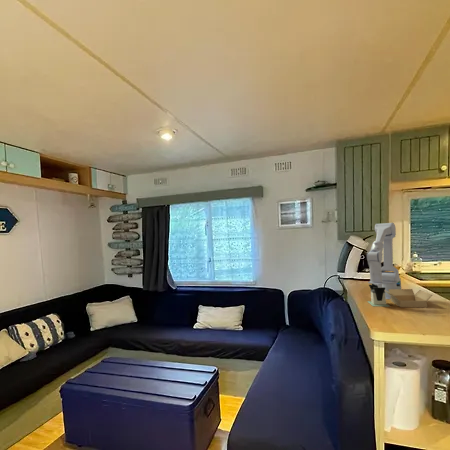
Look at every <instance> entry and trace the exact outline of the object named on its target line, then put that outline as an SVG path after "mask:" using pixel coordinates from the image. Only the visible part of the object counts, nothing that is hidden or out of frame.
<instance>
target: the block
mask: <svg viewBox="0 0 450 450" xmlns="http://www.w3.org/2000/svg"><path fill="white" fill-rule="evenodd" d="M370 298H371V299H370V301H371V302H372V303H373V304H387V299H386V297H385V291H384V293H383V298H382V301H377V298H376V293H375V291H374V290H371V289H370Z"/></svg>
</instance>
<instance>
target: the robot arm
mask: <svg viewBox="0 0 450 450" xmlns="http://www.w3.org/2000/svg"><path fill="white" fill-rule="evenodd" d="M374 231H375V232H374V233H376V238H375V241H373V242H372V244H371V247H370V250H369V252H367V253H366V260H367V261H366V262H367V265H368V267H369V268H368V269H369V281H368V282H367V284H368V286H369V288H370V291H371V290H374V291H375V293H376V298H377V301H382V298H383V293H384V290H385V297H386V300H391V296H390V295H389V294H388V293H387V292H389V289H397V285H396V283H398V282H399V278H400V273H399V269H397V268H396V267H395V266H394V260H393V259H394V257H393V256H394V255H393V254H394V253H393V251H394V250H393V249H394V247H393V240H394V238H396V235H397V234H396V233H397V231H396V224H395V223H394V222H387V223H386V222H384V223H383V222H382V223H375V225H374ZM382 262H383V266H382ZM386 291H387V292H386Z"/></svg>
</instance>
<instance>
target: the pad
mask: <svg viewBox="0 0 450 450" xmlns="http://www.w3.org/2000/svg"><path fill="white" fill-rule="evenodd" d="M367 303H368V304H370V305H371V306H372V307H391V306H390V305H389V304H387V303H386V304H373V303H372V302H371V300H368V301H367Z"/></svg>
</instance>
